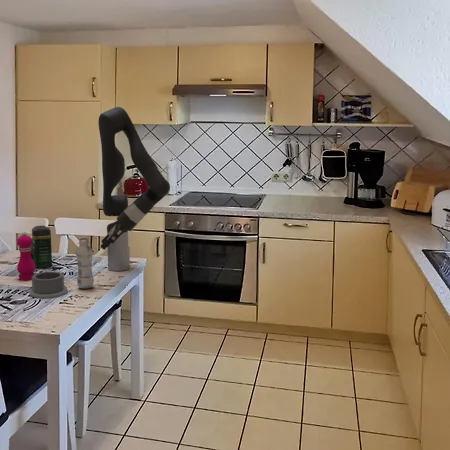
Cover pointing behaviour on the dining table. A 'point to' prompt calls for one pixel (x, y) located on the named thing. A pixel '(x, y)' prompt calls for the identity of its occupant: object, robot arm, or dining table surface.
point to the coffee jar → (42, 247)
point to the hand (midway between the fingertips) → (102, 245)
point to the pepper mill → (25, 258)
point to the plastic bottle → (84, 264)
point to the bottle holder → (48, 285)
